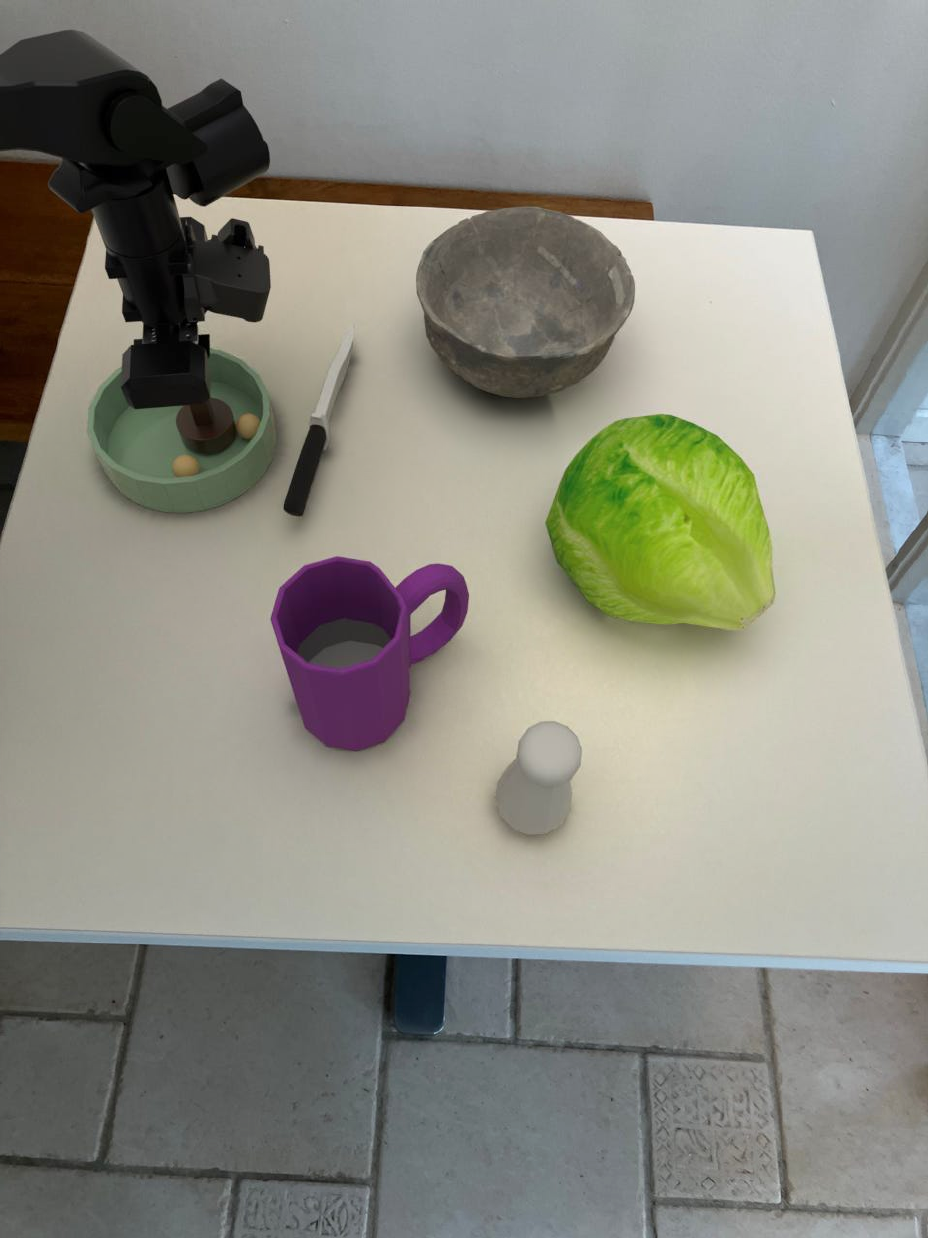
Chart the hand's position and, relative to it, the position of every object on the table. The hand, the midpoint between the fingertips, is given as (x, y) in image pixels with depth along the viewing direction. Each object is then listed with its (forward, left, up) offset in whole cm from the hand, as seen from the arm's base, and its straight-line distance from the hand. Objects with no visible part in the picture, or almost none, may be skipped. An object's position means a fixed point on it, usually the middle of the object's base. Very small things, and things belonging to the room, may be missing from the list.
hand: (191, 383), depth 78 cm
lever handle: (0, 0, -6) cm, 7 cm away
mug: (+14, -27, -8) cm, 32 cm away
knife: (+11, 0, -8) cm, 14 cm away
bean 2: (+4, 0, -5) cm, 7 cm away
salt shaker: (+24, -39, -8) cm, 47 cm away
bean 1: (-2, -4, -7) cm, 9 cm away
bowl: (+31, +8, -8) cm, 33 cm away
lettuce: (+38, -20, -8) cm, 44 cm away
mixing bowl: (-2, 0, -8) cm, 8 cm away
